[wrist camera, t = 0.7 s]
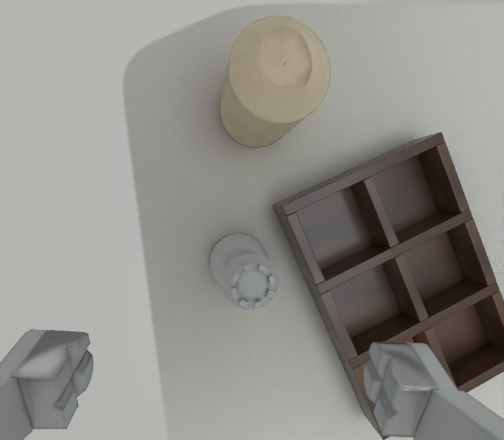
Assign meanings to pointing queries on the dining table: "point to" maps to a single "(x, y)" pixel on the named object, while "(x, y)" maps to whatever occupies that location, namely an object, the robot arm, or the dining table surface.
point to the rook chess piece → (244, 271)
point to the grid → (399, 264)
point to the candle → (273, 80)
